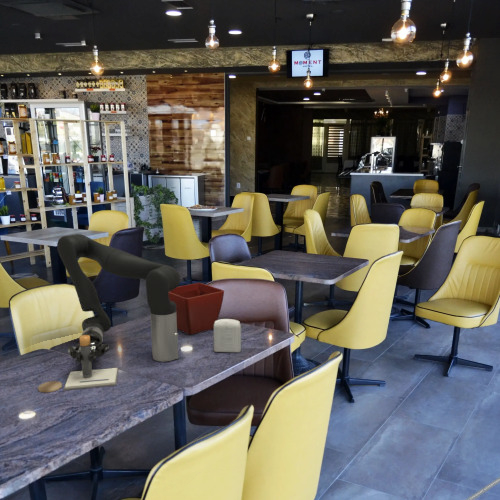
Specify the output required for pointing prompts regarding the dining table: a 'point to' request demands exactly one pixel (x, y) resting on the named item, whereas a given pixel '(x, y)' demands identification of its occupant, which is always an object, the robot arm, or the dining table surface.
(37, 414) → the dining table surface
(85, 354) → the marker
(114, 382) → the notepad
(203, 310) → the plant pot
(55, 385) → the coaster
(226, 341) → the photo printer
